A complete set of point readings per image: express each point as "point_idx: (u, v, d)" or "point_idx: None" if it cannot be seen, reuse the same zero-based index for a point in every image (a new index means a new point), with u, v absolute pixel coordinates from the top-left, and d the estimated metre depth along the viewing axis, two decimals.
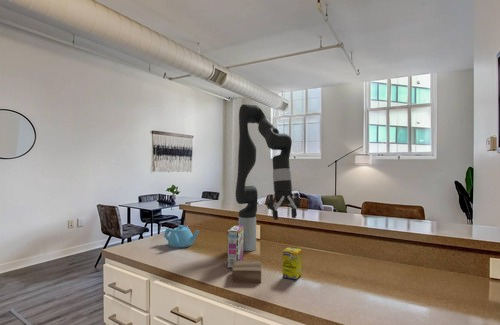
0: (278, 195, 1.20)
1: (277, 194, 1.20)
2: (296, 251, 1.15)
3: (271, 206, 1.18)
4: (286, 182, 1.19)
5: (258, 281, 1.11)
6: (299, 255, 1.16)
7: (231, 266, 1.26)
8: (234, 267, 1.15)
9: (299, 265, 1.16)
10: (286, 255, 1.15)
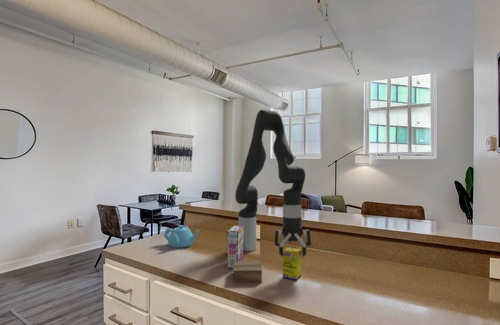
0: (285, 232, 1.16)
1: (284, 230, 1.16)
2: (296, 251, 1.15)
3: (276, 242, 1.16)
4: (292, 220, 1.13)
5: (259, 281, 1.12)
6: (299, 255, 1.16)
7: (231, 266, 1.26)
8: (234, 267, 1.15)
9: (299, 265, 1.16)
10: (286, 255, 1.15)
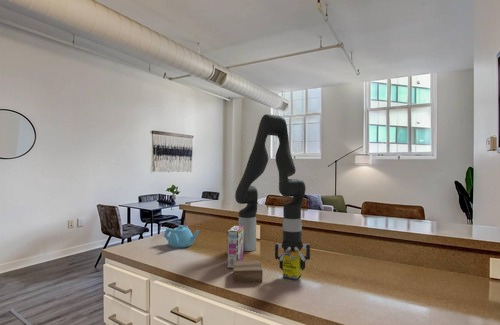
0: (284, 245, 1.16)
1: (283, 244, 1.16)
2: (296, 251, 1.15)
3: (276, 256, 1.16)
4: (292, 234, 1.13)
5: (259, 280, 1.12)
6: None
7: (231, 266, 1.26)
8: (235, 267, 1.14)
9: (299, 265, 1.16)
10: (286, 255, 1.15)
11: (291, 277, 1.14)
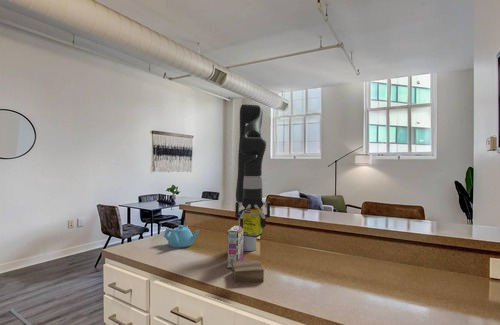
0: (245, 203, 1.16)
1: (244, 202, 1.16)
2: (257, 209, 1.15)
3: (236, 214, 1.16)
4: (252, 191, 1.13)
5: (261, 280, 1.12)
6: None
7: (231, 266, 1.26)
8: (235, 268, 1.14)
9: (259, 223, 1.16)
10: (246, 213, 1.15)
11: (251, 234, 1.14)
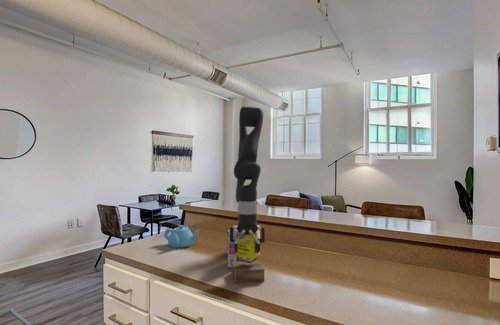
0: (239, 228, 1.16)
1: (238, 227, 1.16)
2: (251, 234, 1.15)
3: (231, 239, 1.16)
4: (246, 216, 1.13)
5: (261, 280, 1.13)
6: None
7: None
8: (236, 268, 1.13)
9: (254, 248, 1.16)
10: (241, 238, 1.15)
11: (245, 260, 1.14)
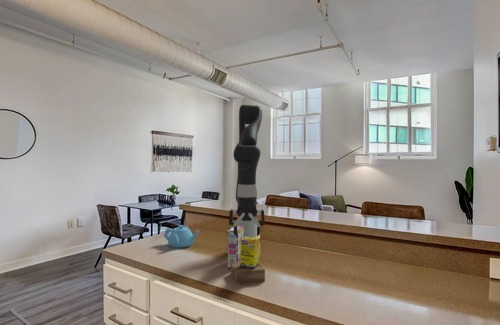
0: (239, 211, 1.16)
1: (238, 210, 1.16)
2: (254, 239, 1.15)
3: (230, 222, 1.16)
4: (245, 199, 1.13)
5: (262, 280, 1.13)
6: (257, 244, 1.16)
7: None
8: (236, 269, 1.13)
9: (257, 254, 1.16)
10: (244, 244, 1.14)
11: (248, 266, 1.14)
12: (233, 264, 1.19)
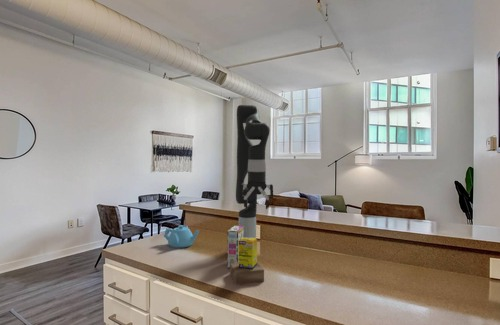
0: (249, 185, 1.22)
1: (248, 184, 1.22)
2: (252, 239, 1.15)
3: (240, 195, 1.23)
4: (255, 174, 1.19)
5: (261, 280, 1.12)
6: (254, 244, 1.16)
7: None
8: (235, 269, 1.13)
9: (255, 254, 1.16)
10: (242, 244, 1.14)
11: (247, 266, 1.14)
12: (232, 264, 1.18)
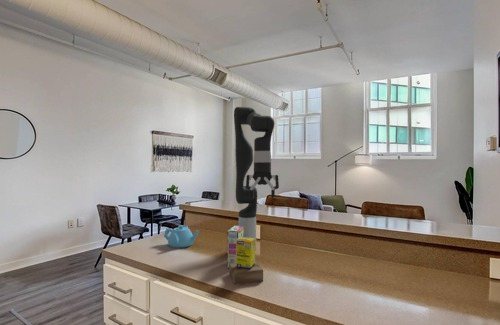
0: (255, 176, 1.26)
1: (254, 175, 1.26)
2: (250, 240, 1.15)
3: (247, 186, 1.26)
4: (261, 164, 1.24)
5: (260, 280, 1.12)
6: (253, 244, 1.16)
7: None
8: (234, 269, 1.13)
9: (253, 254, 1.16)
10: (240, 244, 1.14)
11: (245, 266, 1.13)
12: (231, 264, 1.18)
